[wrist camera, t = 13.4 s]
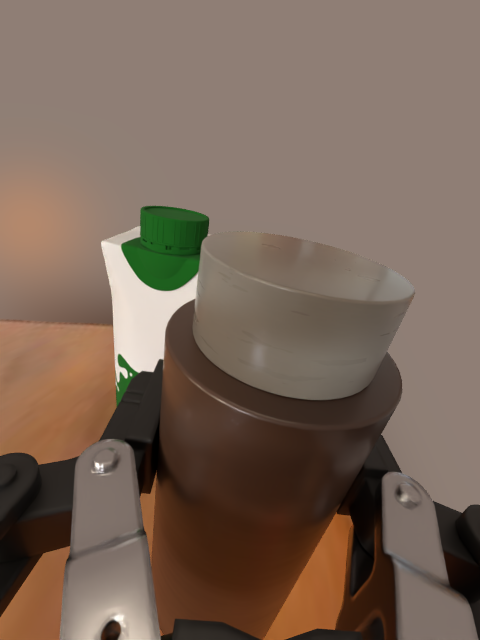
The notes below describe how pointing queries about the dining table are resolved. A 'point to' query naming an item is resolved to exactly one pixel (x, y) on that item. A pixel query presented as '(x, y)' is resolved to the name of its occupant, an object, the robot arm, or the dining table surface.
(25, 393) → the dining table surface
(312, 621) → the dining table surface
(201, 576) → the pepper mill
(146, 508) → the dining table surface
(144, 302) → the milk carton
